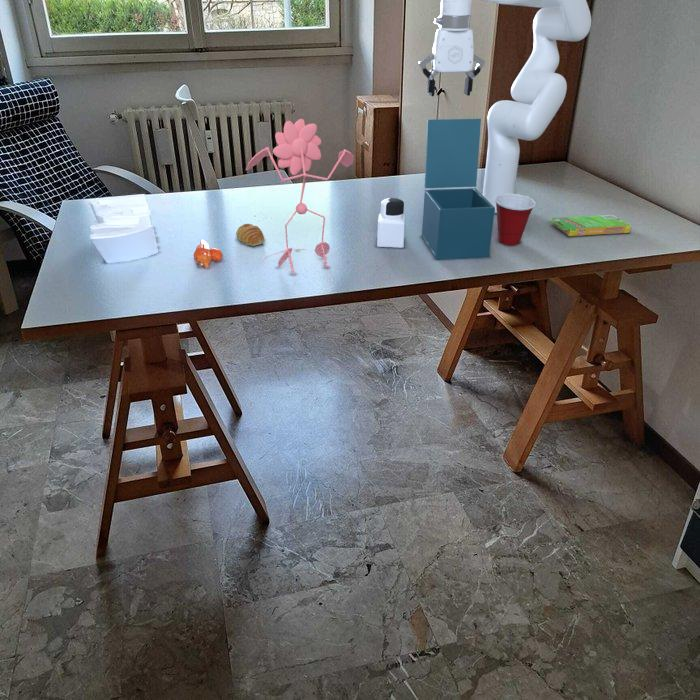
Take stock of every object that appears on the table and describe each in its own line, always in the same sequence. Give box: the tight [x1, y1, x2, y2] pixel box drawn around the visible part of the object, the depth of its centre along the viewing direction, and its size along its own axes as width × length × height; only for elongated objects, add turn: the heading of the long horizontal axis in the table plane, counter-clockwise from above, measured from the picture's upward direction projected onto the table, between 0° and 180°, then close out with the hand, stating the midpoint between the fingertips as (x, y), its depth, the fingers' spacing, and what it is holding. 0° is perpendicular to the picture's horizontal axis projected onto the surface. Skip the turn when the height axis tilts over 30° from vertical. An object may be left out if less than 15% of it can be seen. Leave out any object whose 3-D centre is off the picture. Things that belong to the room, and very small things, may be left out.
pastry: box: [235, 223, 265, 247], centre depth 179 cm, size 9×7×4 cm
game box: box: [549, 214, 632, 237], centre depth 190 cm, size 3×10×20 cm
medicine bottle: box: [376, 197, 407, 249], centre depth 177 cm, size 7×7×12 cm
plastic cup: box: [495, 193, 537, 247], centre depth 178 cm, size 11×11×12 cm
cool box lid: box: [424, 118, 482, 189], centre depth 177 cm, size 17×14×6 cm
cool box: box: [421, 187, 495, 261], centre depth 175 cm, size 17×14×13 cm
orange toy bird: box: [193, 239, 223, 269], centre depth 166 cm, size 5×8×12 cm
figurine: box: [245, 118, 355, 275], centre depth 160 cm, size 15×26×35 cm, turn 118°
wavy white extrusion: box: [88, 193, 159, 264], centre depth 175 cm, size 35×16×10 cm, turn 16°
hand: (449, 95), depth 175 cm, fingers open, 9 cm apart
